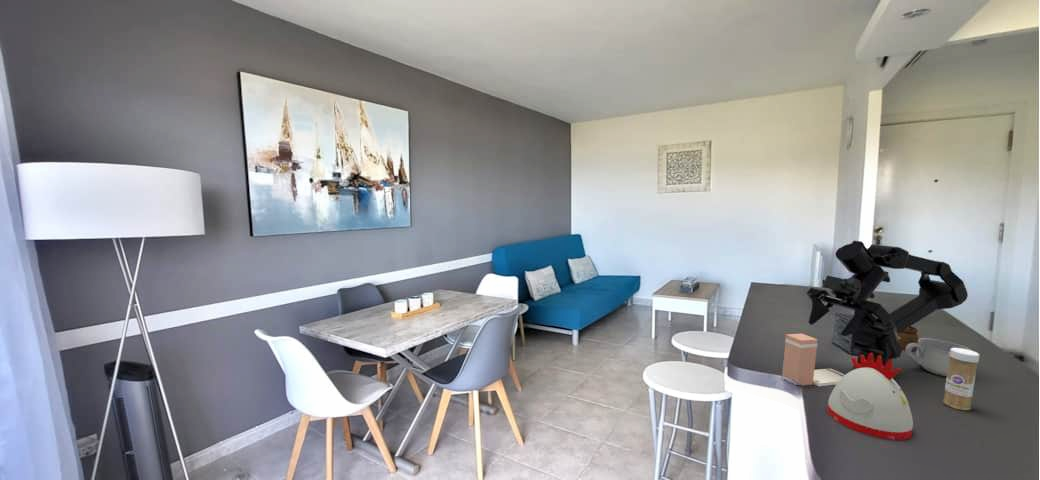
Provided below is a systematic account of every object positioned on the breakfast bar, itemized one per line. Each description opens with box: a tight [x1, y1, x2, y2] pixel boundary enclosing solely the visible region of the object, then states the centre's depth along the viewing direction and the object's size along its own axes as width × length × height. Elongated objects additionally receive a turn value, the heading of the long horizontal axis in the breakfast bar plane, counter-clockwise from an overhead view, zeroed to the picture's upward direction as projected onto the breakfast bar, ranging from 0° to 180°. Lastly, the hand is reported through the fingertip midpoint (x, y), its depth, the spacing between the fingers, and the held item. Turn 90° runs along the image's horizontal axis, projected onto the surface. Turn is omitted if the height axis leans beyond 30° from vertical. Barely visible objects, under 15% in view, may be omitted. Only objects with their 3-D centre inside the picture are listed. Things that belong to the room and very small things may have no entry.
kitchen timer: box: [826, 353, 914, 441], centre depth 87 cm, size 14×14×15 cm
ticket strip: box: [813, 368, 846, 387], centre depth 108 cm, size 12×7×1 cm, turn 102°
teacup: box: [904, 337, 973, 377], centre depth 113 cm, size 14×11×8 cm
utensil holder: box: [897, 325, 919, 352], centre depth 131 cm, size 6×6×12 cm
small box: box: [831, 312, 860, 356], centre depth 128 cm, size 11×6×10 cm, turn 168°
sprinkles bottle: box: [942, 348, 980, 411], centre depth 93 cm, size 5×5×14 cm
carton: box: [781, 333, 819, 386], centre depth 105 cm, size 5×5×12 cm
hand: (825, 329), depth 106 cm, fingers open, 9 cm apart
